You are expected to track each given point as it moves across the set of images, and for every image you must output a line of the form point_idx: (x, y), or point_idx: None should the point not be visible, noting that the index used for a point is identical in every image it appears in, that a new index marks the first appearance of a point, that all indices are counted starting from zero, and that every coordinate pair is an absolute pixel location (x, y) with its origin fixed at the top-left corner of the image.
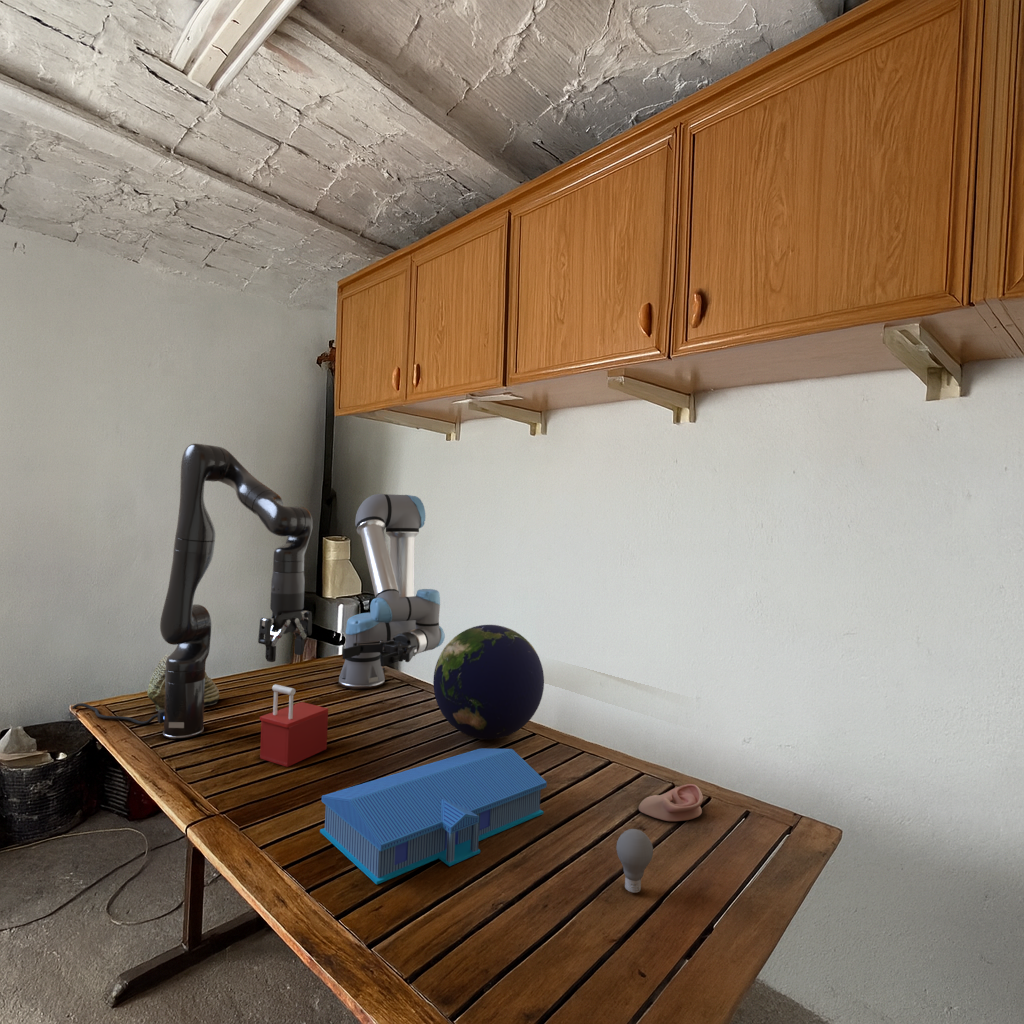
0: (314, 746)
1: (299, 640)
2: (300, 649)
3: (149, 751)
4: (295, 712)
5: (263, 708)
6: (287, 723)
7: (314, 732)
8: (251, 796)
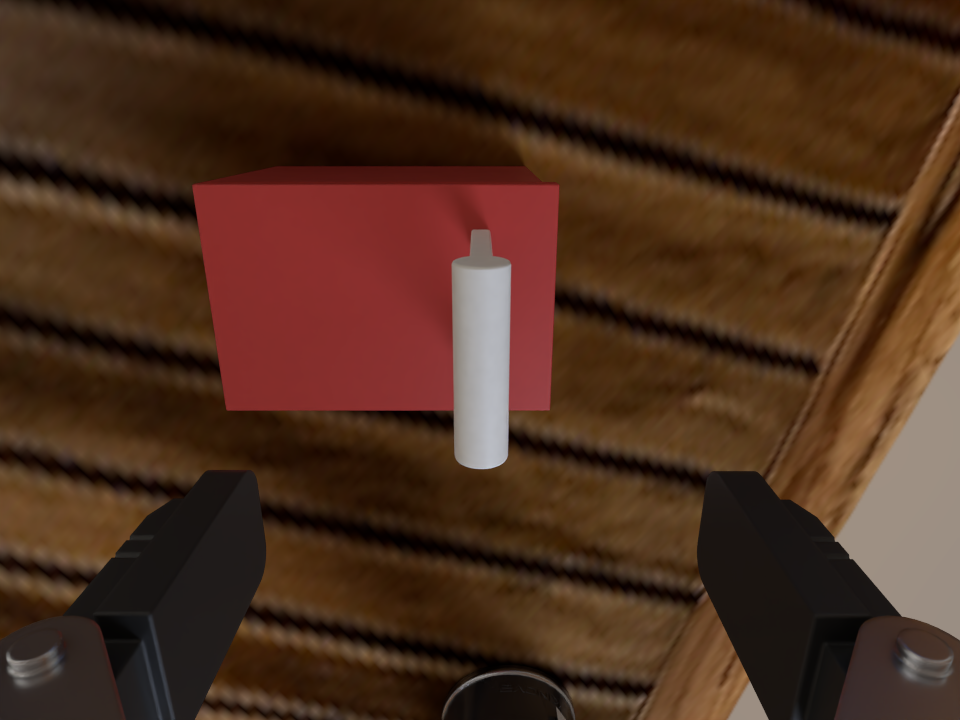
0: (352, 168)
1: (164, 648)
2: (225, 517)
3: (674, 671)
4: (380, 301)
5: None
6: (549, 193)
7: (341, 174)
8: (817, 66)
